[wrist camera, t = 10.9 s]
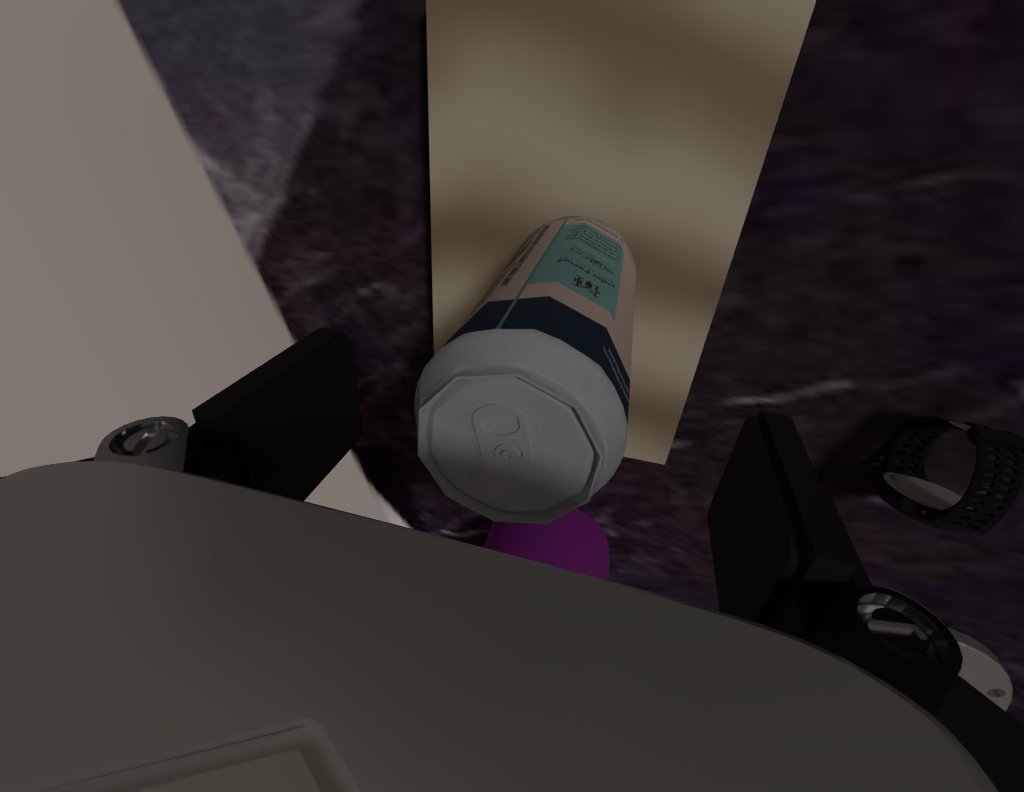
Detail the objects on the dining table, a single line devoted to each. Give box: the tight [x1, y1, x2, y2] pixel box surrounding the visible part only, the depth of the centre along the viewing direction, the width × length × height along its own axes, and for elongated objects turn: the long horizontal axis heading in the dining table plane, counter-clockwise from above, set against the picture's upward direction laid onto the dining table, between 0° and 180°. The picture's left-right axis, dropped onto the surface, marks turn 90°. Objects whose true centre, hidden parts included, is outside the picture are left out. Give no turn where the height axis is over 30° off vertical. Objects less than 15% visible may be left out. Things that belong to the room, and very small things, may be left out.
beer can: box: [414, 216, 636, 524], centre depth 15 cm, size 5×5×12 cm
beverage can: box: [483, 508, 609, 581], centre depth 26 cm, size 8×8×12 cm
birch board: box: [426, 0, 816, 465], centre depth 20 cm, size 18×12×2 cm, turn 178°
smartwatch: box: [874, 417, 1024, 534], centre depth 20 cm, size 4×5×5 cm
